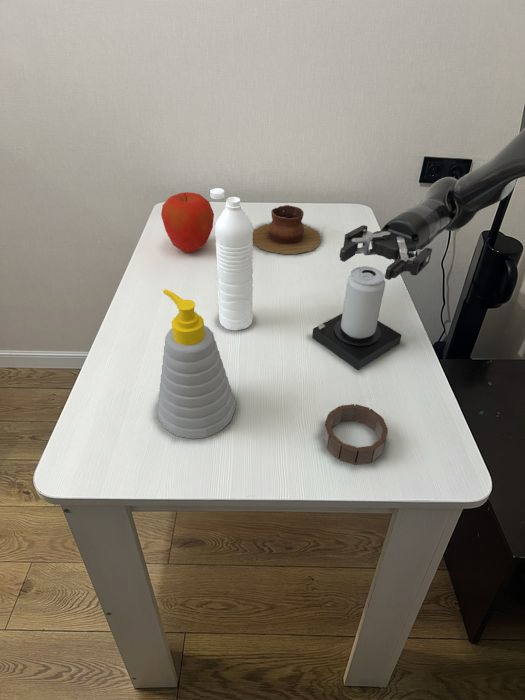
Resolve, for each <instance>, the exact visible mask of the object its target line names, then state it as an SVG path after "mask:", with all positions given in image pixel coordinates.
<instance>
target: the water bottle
mask: <svg viewBox="0 0 525 700" xmlns="http://www.w3.org/2000/svg"><path fill="white" fill-rule="evenodd" d="M225 195H226V193H225V190H224V189H223V188H219V187H216V188H212V189H210V190H209V197H210V198H211V199H214V200H222V199H224V198H225V197H226V196H225ZM225 201H226V202H225V203H224V204H225V205H224V206H225V208H224V209H223V211H222V212H221V214H220V215H219V217H218V218H217V220H216V222H215V226H214V235H215V252H216V254H215V255H216V275H217V293H218V295H217V296H218V297H217V298H218V318H219V319H218V320H219V324H220V325H221V326H222V327H224V328H225V329H226V330H230V331H231V330H232V331H242V330H246V329H247V328H249V327H250V325H252V324H253V291H254V290H253V288H254V287H253V283H254V279H253V278H254V277H253V273H254V272H253V271H254V270H253V259H254V257H253V255H254V253H253V251H254V250H253V249H254V248H253V245H254V243H253V240H252V239H253V232H254V228H253V223H252V221H251V219H250V218H249V216H248V215H247V213H246V212H245V211H244V209H243V208H242V205H243V204H242V202H241V198H240V197H238V196H230V197H227V198H226V200H225Z"/></svg>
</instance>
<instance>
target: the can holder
mask: <svg viewBox="0 0 525 700" xmlns="http://www.w3.org/2000/svg"><path fill="white" fill-rule="evenodd" d="M352 421H353V422H355V423H359V424H364V425H366V426H367V427H368V428H369V429H370V430H372V431H373V432H374V433H375V436H376V438H377V441H376V442H374V443H373V444H372V445H367V446H354V445H351V444H347V443H345V442H343V441H342V440H340V439H339V438H338V437H337V436H336V435H335V434H334V432H333V429H332V428H334V427H335V426H337V425H338V424H340V423H344V422H345V423H346V422H352ZM388 429H389V428H388V426H387V424H386V422H385V420H384V417H382V416H381V415H380V414H379V413H378V412H376V411H375V410H373V409H372V408H370V407H367V406H364V405H360V404H357V403H356V404H354V403H351V404H342V405H339V406H337V407H336V408H334V409H332V410H331V411H329V413H328V414H327V417H326V419H325V422H324V428H323V433H322V438H323V442H324V445H325V447H326V450H327V451H328V452H329V453H331V455H333V456H334V457H335V458H336V459H337V460H339V461H340V462H344V463H347V464H351V465H366V464H371V463H373V462H374V461H376V460H377V459H378V458H379V457H381V456H382V454H383V452H384V449H385V445H386V441H387V437H388V433H389V430H388Z"/></svg>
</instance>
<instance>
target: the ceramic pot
mask: <svg viewBox="0 0 525 700" xmlns="http://www.w3.org/2000/svg"><path fill="white" fill-rule="evenodd" d="M270 211H271V219H272V220H271V222H270V223H265V224H263V225H260V226H258V227H257V228H255V229H253V239H252V240H253V243H252V244H253V245H254V246H255V247H257V248H259V249H260V250H263V251H267V252H268V253H276V254H281V255H297V254H302V253H303V254H304V253H307V252H308V253H309V252H311V251H314V250H315V249H316V248H317V247H318V246H319V245H320V244H321V242H322V237H321V235H320V233H319V232H318V230H316V229H315V228H313V227H311V226H308V225H307V224H304V223H303V222H302V220H303V219H304V215H305V214H304V210H303V209H302V208H300V207H299V206H294V205H290V204H285V205H280V206H278V207H275V208H273V209H271V210H270Z"/></svg>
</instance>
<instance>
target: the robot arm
mask: <svg viewBox="0 0 525 700" xmlns="http://www.w3.org/2000/svg"><path fill="white" fill-rule="evenodd" d="M523 177H525V127H524V129H522V130H520V132H518V134H517V135H515V136H514V137H513V138H512V139H511V140H510V141H509V142H508V143H507V144H505V146H504V147H503V148H502V149H501V150H500V151H498V153H496V154H495V155H494V156H493V157H491V158H490V159H488V161H486V162H485V163H483V164H482V165H480V166H478V167H477V168H474V169H473V170H471V171H470V172H468V173H467V174H464V175H463V176H462V177H460V178H459V179H457V178H455V177H452V176H445V177H442V178H440V179H438V180H436V181H434V183H432V184H431V185H430V187H428V189H427V190H426V191H425V193H424V195H422V198H421V201H420V202H419V203H417V204H416V205H415V206H412V207H410V208H408V209H406V210H405V211H403V212H400V214H398V215H397V216H395V217H393V218H392V219H390V220H389V221H388V222H386V224H385V225H384V226H383V227H382V228H381V229H380V230H377V231H374V232H372V231H369V230H368V228H369V227H368V226H367V225H364V224H362V225H360V226H358V227H356V228H354V229H352V230H351V231H348V232H347V233H345V234H344V239H343V245H342V247H341V248H340V252H339V261H342V262H343V263H345V262H347V261H348V260H350V259H351V258H353V257H354V256H355V255H358V254H362V255H364V256H375V255H376V256H380V257H383V258H385V259H387V260H392V261H393V262H392V263H391V264H389V265H388V266H387V267H386V269H385V273H384V280H388V281H390V280H391V279H396V278H397V277H398V276H400V275H401V274H406V272H408V273H409V274H410V275H411V276H418V275H419V274H420V273H421V272H422V271H423V269H425V268H426V267H427V265H429V263H430V260H431V256H432V253H433V249H432V248H431V247H427V246H428V245H430V244H431V243H432V242H433V241H434V239H436V237H438V236H439V235H440V234H442V233H443V232H444V231H447V232H454V231H458V230H461V229H462V228H463V227H465V226H466V225H467V224H468V223H470V221H472V220H473V218H474V217H475V216H476V215H477V214H478V213H479V212H480V211H481V210H484V209H486V208H488V207H490V206H493V205H494V204H497V203H499V202H500V201H502V200H504V199H505V198H506V197H508V196H509V194H511V192H512V191H513V190H514V188H515V186H516V183H517V180H518V179H521V178H523ZM359 244H362V246H361V247H359ZM370 245H371V248H370ZM411 258H412V259H413V260H411Z"/></svg>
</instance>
